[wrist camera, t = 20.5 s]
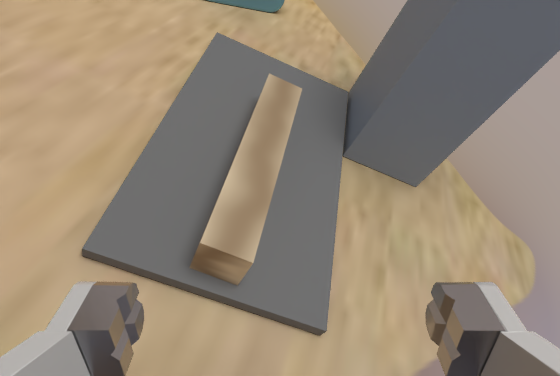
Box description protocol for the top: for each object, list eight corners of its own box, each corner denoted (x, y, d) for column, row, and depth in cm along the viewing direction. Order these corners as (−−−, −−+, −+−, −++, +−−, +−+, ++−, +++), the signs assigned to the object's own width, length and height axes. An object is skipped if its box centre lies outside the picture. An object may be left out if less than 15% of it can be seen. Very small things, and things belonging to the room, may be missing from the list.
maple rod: (189, 267, 26) (199, 242, 23) (257, 100, 39) (269, 73, 36) (237, 285, 26) (253, 263, 24) (288, 114, 40) (302, 88, 37)
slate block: (342, 156, 40) (563, -143, 21) (348, 93, 48) (512, -165, 29) (415, 186, 42) (683, -68, 23) (409, 120, 50) (603, -109, 31)
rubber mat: (82, 255, 24) (82, 248, 24) (215, 39, 45) (216, 32, 44) (320, 335, 27) (326, 331, 26) (344, 98, 47) (348, 91, 47)
